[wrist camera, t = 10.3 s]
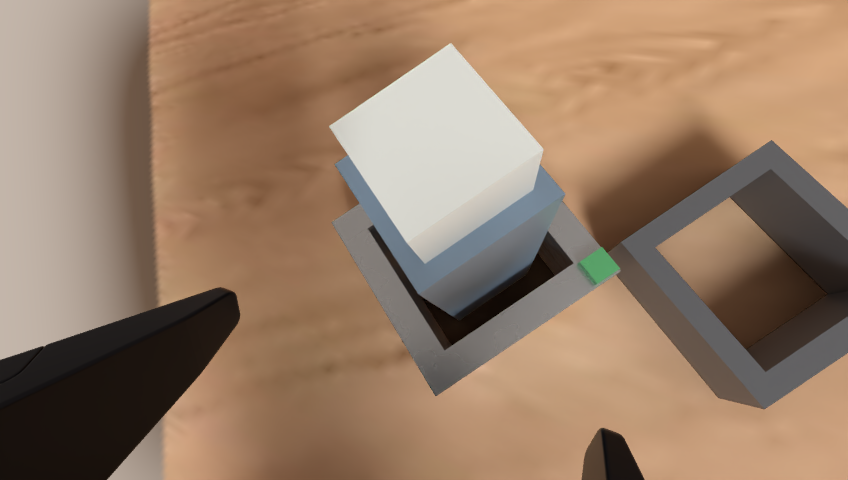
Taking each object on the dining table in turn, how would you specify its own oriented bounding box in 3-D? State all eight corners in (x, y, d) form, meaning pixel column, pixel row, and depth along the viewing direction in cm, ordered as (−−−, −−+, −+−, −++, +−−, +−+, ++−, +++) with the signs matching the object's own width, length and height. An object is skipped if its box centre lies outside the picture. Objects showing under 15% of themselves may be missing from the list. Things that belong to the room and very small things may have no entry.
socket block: (447, 385, 19) (434, 397, 15) (360, 244, 21) (327, 219, 17) (595, 285, 19) (624, 269, 15) (490, 156, 21) (490, 110, 17)
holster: (718, 398, 17) (764, 409, 14) (601, 257, 19) (620, 241, 16) (863, 299, 17) (939, 290, 14) (729, 170, 19) (771, 140, 16)
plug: (459, 320, 19) (398, 280, 7) (415, 255, 21) (297, 123, 8) (526, 274, 19) (584, 153, 7) (479, 211, 21) (457, 14, 8)
